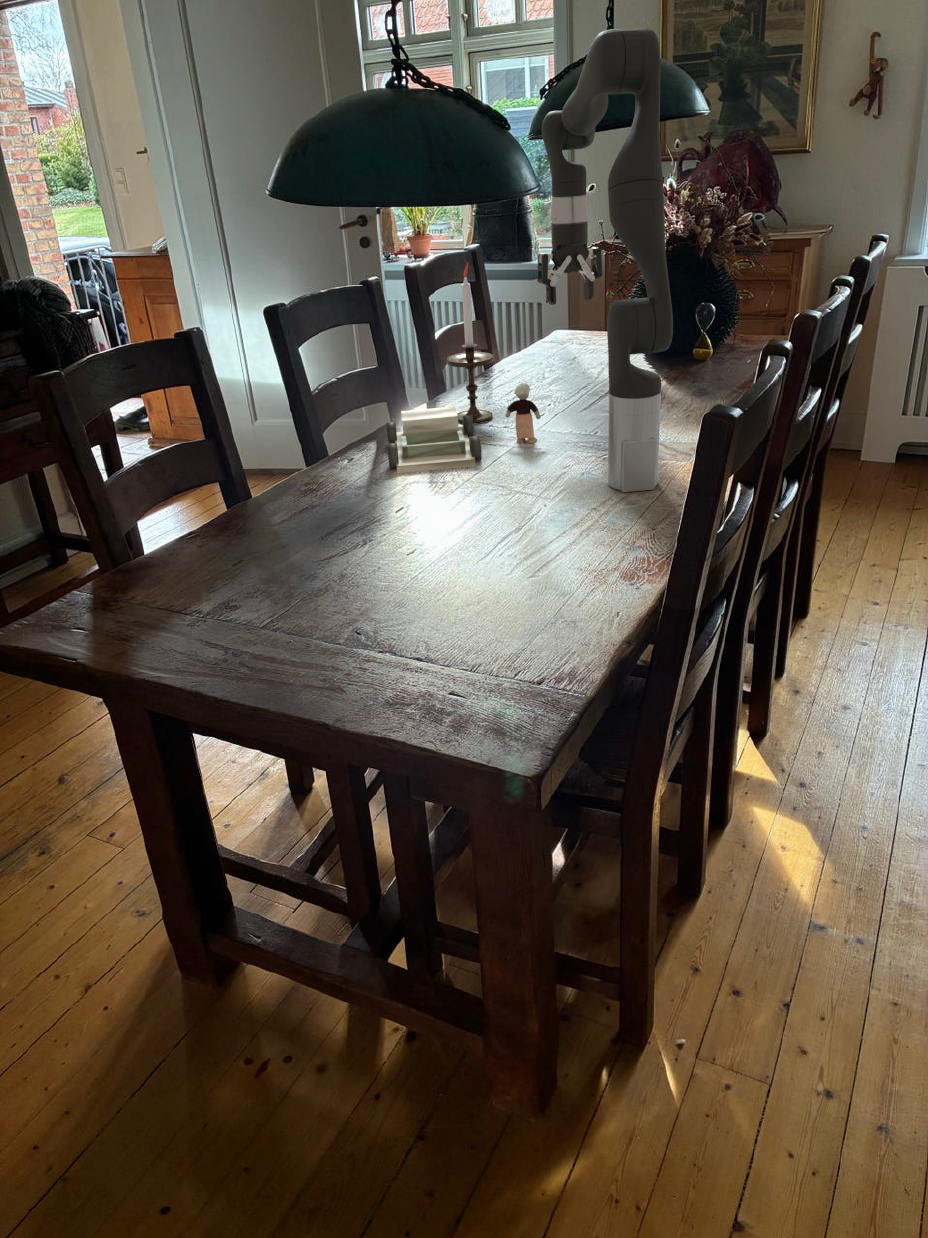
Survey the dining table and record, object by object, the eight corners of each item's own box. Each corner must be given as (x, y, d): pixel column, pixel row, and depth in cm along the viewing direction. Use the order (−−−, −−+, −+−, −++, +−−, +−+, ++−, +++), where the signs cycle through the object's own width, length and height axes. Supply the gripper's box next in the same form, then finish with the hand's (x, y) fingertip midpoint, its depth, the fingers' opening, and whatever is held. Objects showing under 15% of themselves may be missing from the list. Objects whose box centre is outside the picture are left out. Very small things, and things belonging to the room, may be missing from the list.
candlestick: (497, 411, 222) (490, 257, 206) (494, 424, 213) (487, 264, 196) (453, 413, 224) (442, 260, 207) (448, 425, 214) (437, 266, 198)
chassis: (482, 465, 187) (481, 434, 184) (389, 473, 186) (386, 442, 183) (471, 432, 208) (470, 403, 205) (388, 439, 207) (385, 411, 204)
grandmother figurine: (541, 437, 201) (540, 379, 195) (541, 443, 198) (539, 384, 192) (506, 439, 202) (504, 381, 196) (505, 444, 199) (503, 385, 193)
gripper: (546, 223, 184) (548, 308, 191) (608, 217, 188) (608, 300, 196) (530, 222, 190) (532, 303, 198) (590, 216, 195) (591, 296, 202)
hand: (570, 301), depth 197 cm, fingers open, 8 cm apart
